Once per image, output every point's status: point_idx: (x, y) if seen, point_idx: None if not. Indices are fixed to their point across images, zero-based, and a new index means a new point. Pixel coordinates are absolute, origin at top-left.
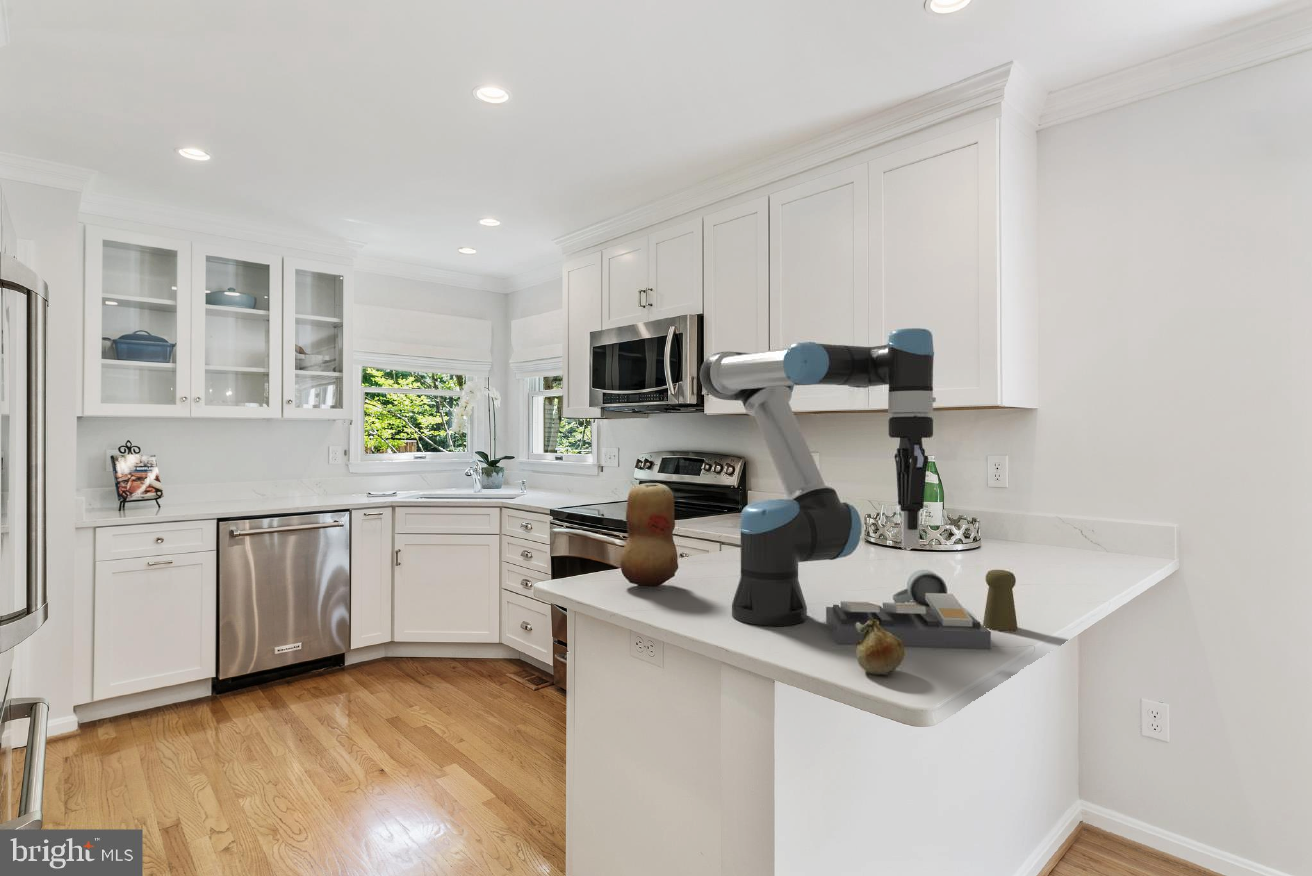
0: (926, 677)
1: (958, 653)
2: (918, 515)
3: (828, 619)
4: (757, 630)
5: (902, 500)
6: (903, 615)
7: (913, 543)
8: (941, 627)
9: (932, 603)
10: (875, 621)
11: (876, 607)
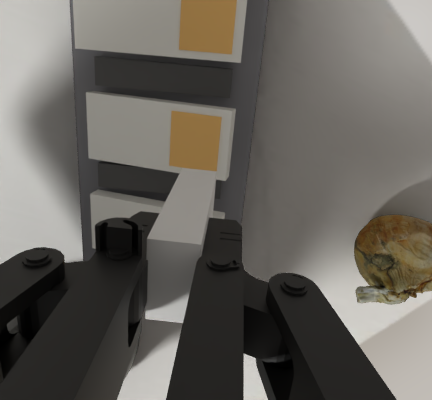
0: (421, 171)
1: (297, 50)
2: (203, 237)
3: None
4: (161, 359)
5: (128, 362)
6: None
7: (213, 200)
8: (236, 65)
9: (146, 54)
10: (406, 289)
11: None
